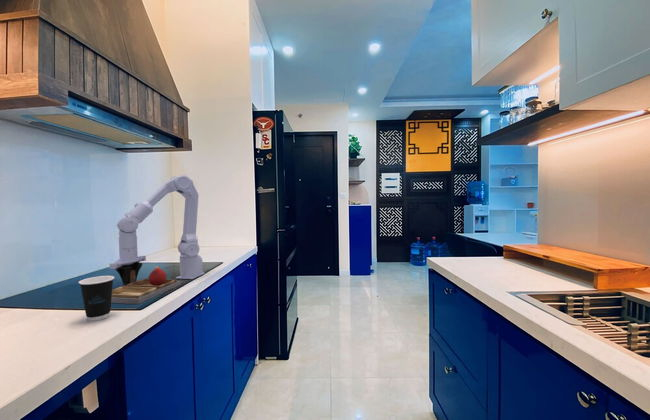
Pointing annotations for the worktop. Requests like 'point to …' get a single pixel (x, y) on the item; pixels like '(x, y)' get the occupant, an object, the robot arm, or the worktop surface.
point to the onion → (157, 277)
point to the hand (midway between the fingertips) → (129, 283)
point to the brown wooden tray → (144, 298)
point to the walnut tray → (146, 282)
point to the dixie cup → (97, 296)
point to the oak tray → (132, 292)
